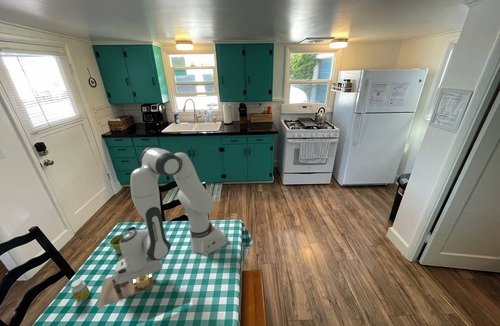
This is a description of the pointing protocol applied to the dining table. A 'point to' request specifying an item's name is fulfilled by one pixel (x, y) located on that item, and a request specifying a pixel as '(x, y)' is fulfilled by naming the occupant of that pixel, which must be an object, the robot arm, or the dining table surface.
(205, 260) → the dining table surface
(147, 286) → the gear board
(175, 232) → the dining table surface
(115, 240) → the plant pot
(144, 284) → the loose gear
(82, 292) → the supplement bottle
